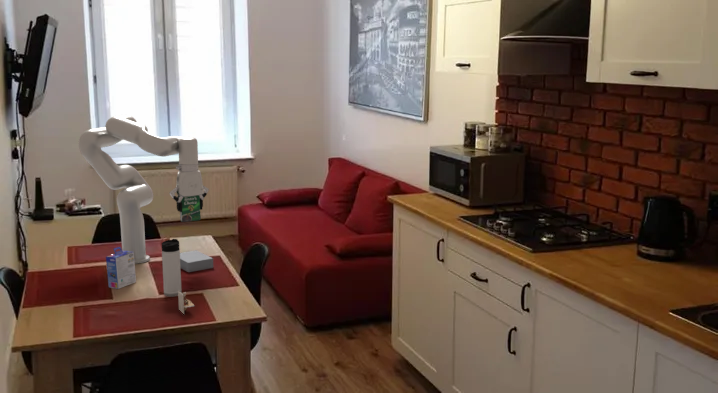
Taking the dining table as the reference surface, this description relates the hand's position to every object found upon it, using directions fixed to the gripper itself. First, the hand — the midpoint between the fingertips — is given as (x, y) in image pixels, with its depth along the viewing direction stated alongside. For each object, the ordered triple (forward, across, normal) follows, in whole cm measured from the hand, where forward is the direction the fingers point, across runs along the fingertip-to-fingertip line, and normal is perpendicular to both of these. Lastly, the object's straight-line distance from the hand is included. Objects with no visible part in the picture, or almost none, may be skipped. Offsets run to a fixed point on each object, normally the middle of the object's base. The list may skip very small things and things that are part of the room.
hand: (190, 210), depth 298 cm
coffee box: (+5, 0, 0) cm, 5 cm away
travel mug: (+24, -21, -30) cm, 44 cm away
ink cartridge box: (+24, -32, -8) cm, 41 cm away
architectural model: (+24, -26, -50) cm, 62 cm away
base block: (+24, 0, 0) cm, 24 cm away
